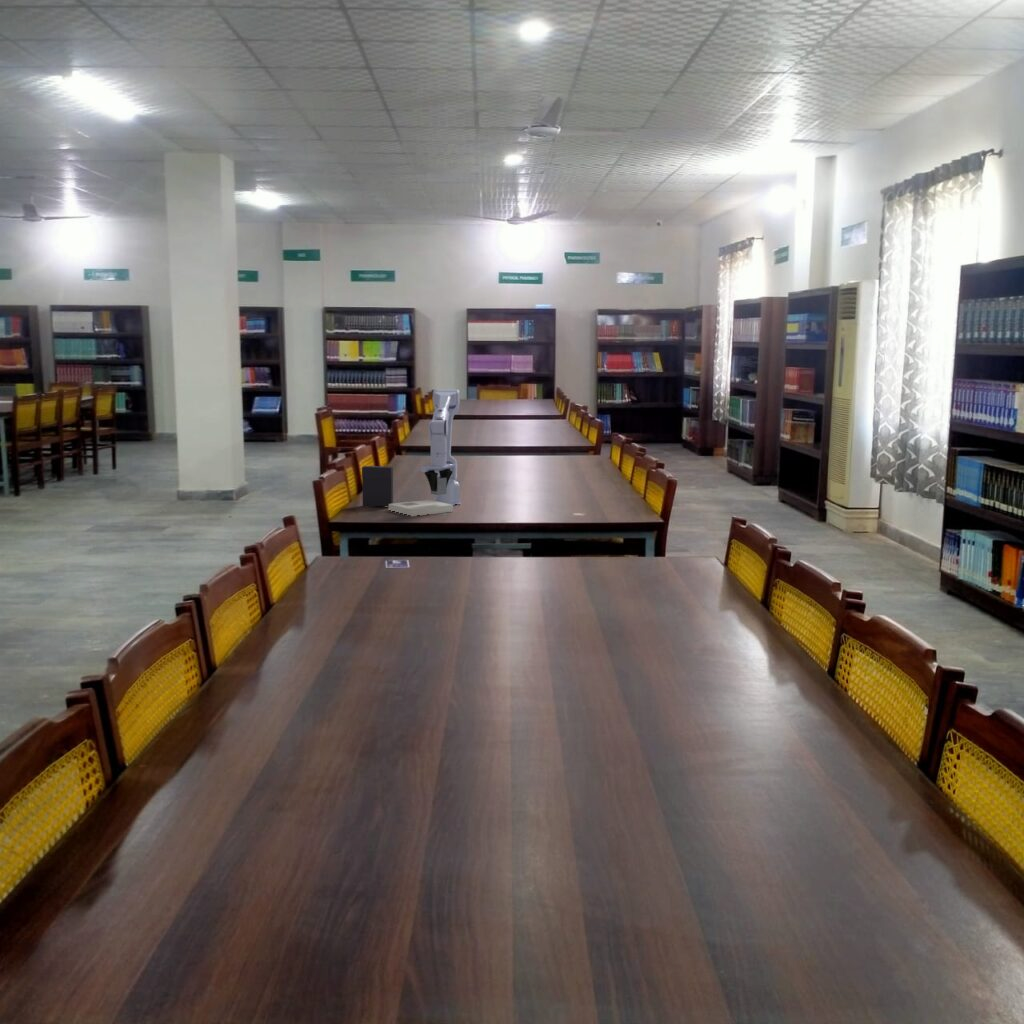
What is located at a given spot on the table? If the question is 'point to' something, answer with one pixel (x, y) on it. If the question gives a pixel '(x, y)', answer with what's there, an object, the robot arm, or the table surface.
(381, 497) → the dark grey rectangular block
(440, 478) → the pin
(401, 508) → the slot board
